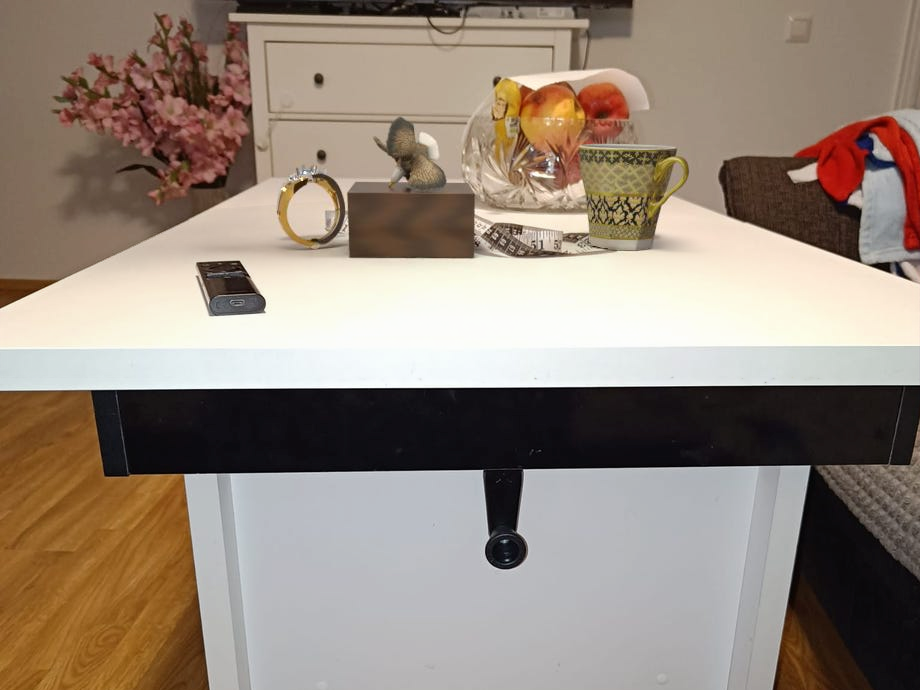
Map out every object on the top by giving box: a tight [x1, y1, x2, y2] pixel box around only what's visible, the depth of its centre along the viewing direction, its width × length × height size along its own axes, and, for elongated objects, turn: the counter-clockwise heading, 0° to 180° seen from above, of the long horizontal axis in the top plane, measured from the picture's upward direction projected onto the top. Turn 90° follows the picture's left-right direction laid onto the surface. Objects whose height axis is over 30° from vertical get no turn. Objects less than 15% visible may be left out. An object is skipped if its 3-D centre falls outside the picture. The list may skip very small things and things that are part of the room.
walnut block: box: [346, 181, 476, 259], centre depth 94 cm, size 12×12×6 cm
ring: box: [276, 164, 346, 250], centre depth 93 cm, size 7×3×8 cm, turn 119°
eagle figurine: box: [372, 116, 448, 191], centre depth 92 cm, size 8×7×9 cm
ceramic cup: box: [578, 143, 690, 251], centre depth 96 cm, size 13×10×10 cm
